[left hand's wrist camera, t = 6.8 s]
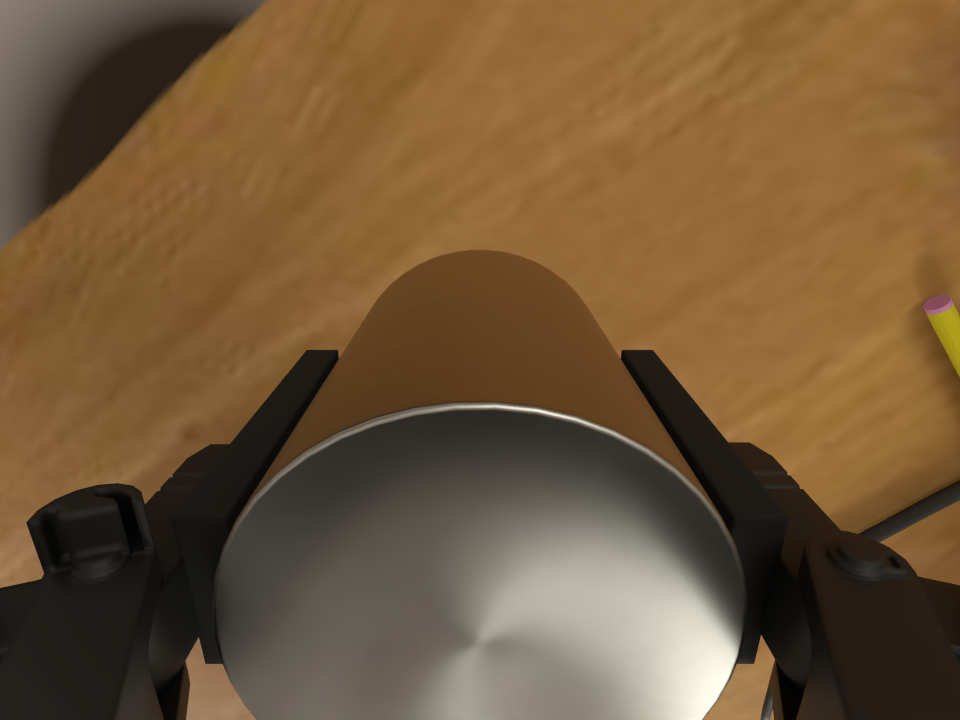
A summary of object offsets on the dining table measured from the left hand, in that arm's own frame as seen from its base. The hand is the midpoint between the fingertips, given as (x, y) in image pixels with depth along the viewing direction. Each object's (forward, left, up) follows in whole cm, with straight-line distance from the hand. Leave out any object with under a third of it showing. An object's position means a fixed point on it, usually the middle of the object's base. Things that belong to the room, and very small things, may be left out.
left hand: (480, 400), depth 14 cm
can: (0, 0, -2) cm, 2 cm away
